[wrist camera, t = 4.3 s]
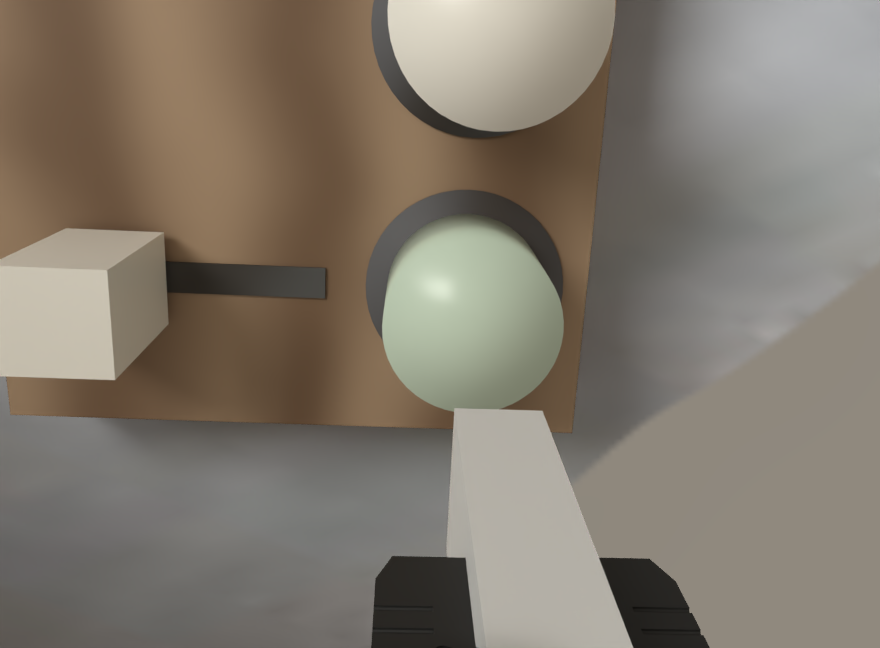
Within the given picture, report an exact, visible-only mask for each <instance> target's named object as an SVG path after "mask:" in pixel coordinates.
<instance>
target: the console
mask: <svg viewBox="0 0 880 648" xmlns="http://www.w3.org/2000/svg"><path fill="white" fill-rule="evenodd" d="M616 1H617V0H615V11H616ZM387 9H388V0H0V259H2V258H4V257H6V256H8V255H10V254H13V253H15V252H17V251H19V250H21V249H23V248H25V247H27V246H30V245H32V244H34V243H36V242H38V241H40V240H42V239H44V238H47V237H49V236H51V235H53V234H55V233H57V232H59V231H61V230H64V229H66V228H71V229H96V230H120V231H144V232H164V244H165V264H166V283H167V303H168V322H169V324H168V325H167V326H166V327H165V328H164V329H163V330H162V332H161V333H160V334H159V335H158V336H157V337H156V338H155V339H154V340H153V341H152V342H151V343H150V344H149V345H148V346H147V347H146V348H145V349H144V350H143V351H142V353H141V354H140V355H139V356H138V357H137V358H136V359H135V360H134V361H133V362H132V363H131V364H130V365H129V366H128V367H127V368H126V369H125V370H124V371H123V372H122V374H121V375H120V376H119V377H118V378H117V379H116V380H95V379H66V378H37V377H8V376H6V378H7V387H8V396H9V405H10V413H11V415H36V416H67V417H98V418H128V419H159V420H190V421H221V422H251V423H282V424H313V425H344V426H374V427H405V428H436V429H453V425H454V412H453V411H448V410H444V409H441V408H439V407H436V406H433V405H431V404H429V403H427V402H425V401H424V400H422V399H421V398H419V397H418V396H416V395H415V394H414V393H413V392H411V391H410V390H409V389H408V388H407V387H406V386H405V385H404V384H403V383H402V381H401V380H400V379H399V378H398V376H397V375H396V373H395V372H394V370H393V369H392V367H391V364H390V362H389V360H388V358H387V355H386V352H385V349H384V343H383V337H382V321H383V312H384V305H385V297H386V290H387V282H388V276H389V272H390V268H391V266H392V263H393V261H394V258H395V257H396V255H397V253H398V251H399V250H400V248H401V247H402V246H403V244H404V243H405V242H406V241H407V240H408V239H409V237H410V236H411V235H412V234H414V233H415V232H416V231H417V230H419V229H420V228H422V227H423V226H425V225H427V224H428V223H430V222H433V221H435V220H437V219H440V218H443V217H447V216H451V215H458V214H474V215H481V216H486V217H490V218H492V219H495V220H498V221H500V222H502V223H504V224H505V225H507V226H509V227H510V228H512V229H513V230H514V231H516V232H517V233H518V234H519V235H520V236H521V237H522V238H523V239H524V240H525V241H526V242H527V244H528V245H529V246H530V248H531V249H532V251H533V252H534V254H535V256H536V257H537V259H538V261H539V262H540V264H541V265H542V267H543V269H544V270H545V272H546V274H547V275H548V277H549V278H550V280H551V282H552V284H553V285H554V287H555V289H556V291H557V294H558V296H559V299H560V302H561V306H562V310H563V319H564V332H563V339H562V344H561V348H560V351H559V354H558V357H557V359H556V361H555V363H554V365H553V367H552V368H551V370H550V372H549V373H548V375H547V376H546V377H545V379H544V380H543V381H542V382H541V383H540V384H539V385H538V386H537V387H536V388H535V389H534V390H533V391H532V392H531V393H529V394H528V395H527V396H525V397H524V398H522V399H521V400H519V401H517V402H515V403H513V404H511V405H509V406H506V407H504V408H501V410H535V411H543V413H544V416H545V419H546V421H547V424H548V427H549V429H550V432H559V433H572V429H573V419H574V409H575V399H576V390H577V380H578V370H579V361H580V351H581V341H582V331H583V322H584V312H585V302H586V293H587V283H588V273H589V263H590V254H591V244H592V234H593V225H594V215H595V205H596V195H597V186H598V176H599V166H600V157H601V147H602V137H603V127H604V118H605V108H606V98H607V89H608V79H609V69H610V59H611V50H612V40H613V35H612V39H611V42H610V46H609V49H608V52H607V55H606V57H605V59H604V62H603V64H602V66H601V68H600V70H599V71H598V73H597V75H596V76H595V78H594V80H593V81H592V82H591V84H590V85H589V86H588V88H587V89H586V90H585V92H584V93H583V94H582V95H581V96H580V97H579V98H578V99H577V100H576V101H575V102H574V103H572V104H571V105H570V106H569V107H567V108H566V109H565V110H564V111H562V112H561V113H559V114H558V115H556V116H554V117H553V118H551V119H549V120H547V121H545V122H542V123H540V124H538V125H535V126H532V127H528V128H525V129H520V130H514V131H502V132H493V131H484V130H478V129H474V128H470V127H466V126H464V125H461V124H459V123H456V122H454V121H452V120H450V119H448V118H446V117H445V116H443V115H441V114H439V113H438V112H437V111H436V110H434V109H433V108H432V107H430V106H429V105H428V104H427V103H426V102H425V101H424V100H423V99H422V98H421V97H420V96H419V95H418V94H417V93H416V92H415V90H414V89H413V88H412V86H411V85H410V84H409V83H408V81H407V79H406V77H405V76H404V74H403V72H402V71H401V69H400V66H399V64H398V62H397V59H396V57H395V54H394V51H393V47H392V44H391V41H390V34H389V28H388V10H387ZM613 30H614V29H613Z"/></svg>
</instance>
